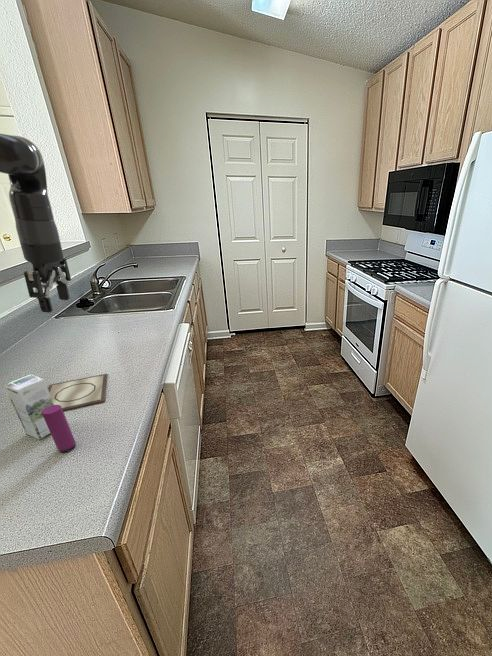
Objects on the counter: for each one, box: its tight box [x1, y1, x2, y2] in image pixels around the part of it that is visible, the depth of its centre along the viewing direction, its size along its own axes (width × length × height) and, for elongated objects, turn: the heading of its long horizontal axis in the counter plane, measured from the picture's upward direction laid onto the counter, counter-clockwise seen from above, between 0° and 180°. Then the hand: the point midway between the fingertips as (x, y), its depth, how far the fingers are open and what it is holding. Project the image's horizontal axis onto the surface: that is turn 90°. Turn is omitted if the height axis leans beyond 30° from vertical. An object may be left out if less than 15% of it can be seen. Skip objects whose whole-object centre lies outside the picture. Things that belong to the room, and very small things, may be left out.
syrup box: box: [3, 374, 54, 441], centre depth 80 cm, size 6×6×14 cm
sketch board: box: [47, 373, 108, 412], centre depth 99 cm, size 16×18×1 cm
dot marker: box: [42, 405, 77, 454], centre depth 75 cm, size 4×4×11 cm
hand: (56, 305), depth 84 cm, fingers open, 8 cm apart
